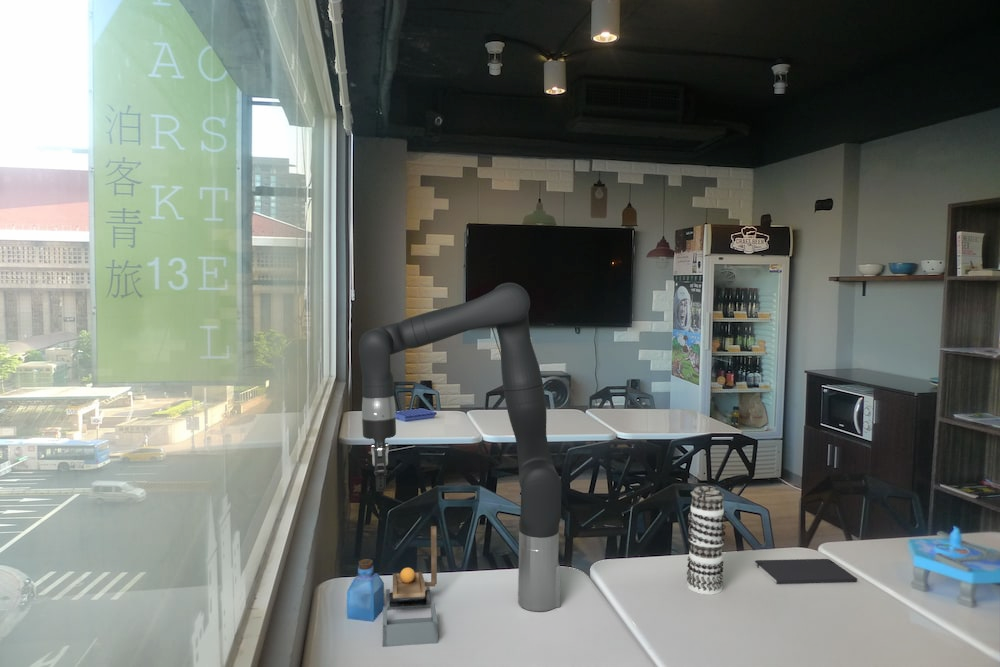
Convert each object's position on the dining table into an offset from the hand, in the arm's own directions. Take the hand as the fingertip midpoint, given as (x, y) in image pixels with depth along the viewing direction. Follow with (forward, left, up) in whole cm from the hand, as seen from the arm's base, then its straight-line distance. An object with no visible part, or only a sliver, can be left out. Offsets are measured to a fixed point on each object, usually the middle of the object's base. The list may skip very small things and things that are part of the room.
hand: (381, 485), depth 157 cm
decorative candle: (-79, +2, -28) cm, 84 cm away
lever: (-8, +1, -25) cm, 26 cm away
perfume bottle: (+3, +5, -28) cm, 29 cm away
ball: (-6, -5, -24) cm, 25 cm away
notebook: (-109, -3, -29) cm, 113 cm away
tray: (-6, +15, -28) cm, 32 cm away
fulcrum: (-6, +1, -28) cm, 28 cm away
